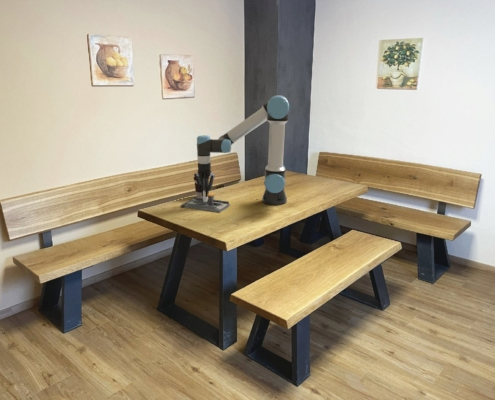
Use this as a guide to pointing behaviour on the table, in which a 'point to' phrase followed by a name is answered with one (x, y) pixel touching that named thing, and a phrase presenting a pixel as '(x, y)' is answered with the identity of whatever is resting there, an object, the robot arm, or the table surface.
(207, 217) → the table surface
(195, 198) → the long dark grey rail
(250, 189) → the table surface
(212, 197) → the lever
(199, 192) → the coffee cup
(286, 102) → the robot arm
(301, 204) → the table surface
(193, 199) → the grey panel edge rail
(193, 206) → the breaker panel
